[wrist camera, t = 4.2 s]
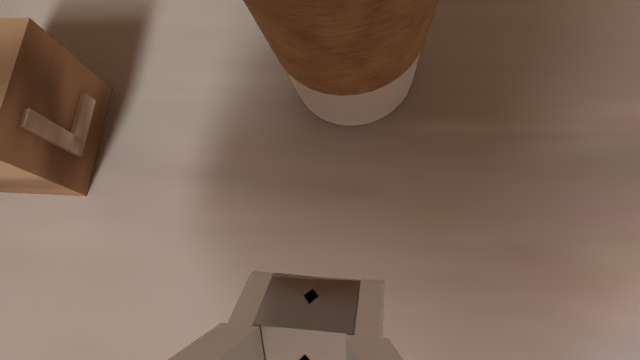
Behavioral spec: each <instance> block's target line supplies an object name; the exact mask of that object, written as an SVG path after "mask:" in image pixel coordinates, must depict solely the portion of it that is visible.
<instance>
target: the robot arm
mask: <svg viewBox="0 0 640 360" xmlns="http://www.w3.org/2000/svg"><path fill="white" fill-rule="evenodd" d="M383 316H384V281H380V280H355V279H340V278H325V277H313V276H302V275H292V274H282V273H268V272H257V271H254V272H253V273H252V274H251V275H250V276H249V278H248V280H247V282H246V285H245V287H244V289H243V291H242V293H241V295H240V298H239V300H238V302H237V304H236V306H235V308H234V310H233V313H232V315H231V317H230V319H229V321H228V323H220V324H219V325H217V326H216V327H214V328H213V329H212V330H210V331H209V332H207V333H206V334H204V335H203V336H201V337H200V338H199V339H197V340H196V341H194V342H193V343H191V344H190V345H188V346H187V347H186V348H184V349H183V350H181V351H180V352H178V353H177V354H175V355H174V356H173V357H171V358H170V359H168V360H403V358H402V357H401V356H400V354H399V353H398V351H397V350H396V349H395V347H394V346H393V344H392V343H391V342H390V340H389V339H385V338H383Z"/></svg>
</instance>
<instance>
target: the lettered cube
mask: <svg viewBox="0 0 640 360" xmlns="http://www.w3.org/2000/svg"><path fill="white" fill-rule="evenodd" d="M111 93H112V88H111V87H110V86H109V85H107V84H106V83H105V82H104V81H103V80H102V79H100V78H99V77H98V76H97V75H96V74H95V73H93V72H92V71H91V70H90V69H89V68H88V67H86V66H85V65H84V64H83V63H82V62H81V61H79V60H78V59H77V58H76V57H75V56H74V55H72V54H71V53H70V52H69V51H68V50H66V49H65V48H64V47H63V46H62V45H61V44H59V43H58V42H57V41H56V40H55V39H54V38H52V37H51V36H50V35H49V34H48V33H47V32H45V31H44V30H43V29H42V28H41V27H40V26H38V25H37V24H36V23H35V22H34V21H32V20H31V19H30V18H0V192H8V193H30V194H52V195H75V196H87V192H88V188H89V184H90V180H91V176H92V171H93V167H94V163H95V159H96V155H97V151H98V147H99V142H100V138H101V134H102V130H103V126H104V122H105V118H106V114H107V109H108V105H109V101H110V97H111Z"/></svg>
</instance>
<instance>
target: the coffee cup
mask: <svg viewBox="0 0 640 360" xmlns="http://www.w3.org/2000/svg"><path fill="white" fill-rule="evenodd" d="M243 1H244V2H245V4H246V6H247V7H248V9H249V11H250V12H251V14H252V16H253V17H254V19H255V21H256V23H257V24H258V26H259V28H260V29H261V31H262V33H263V34H264V36H265V38H266V39H267V41H268V43H269V45H270V46H271V48H272V50H273V51H274V53H275V55H276V56H277V58H278V60H279V61H280V63H281V64H282V66H283V67H284V68H285V70H286V72H287V74H288V76H289V78H290V80H291V82H292V84H293V85H294V87H295V89H296V91H297V93H298V95H299V97H300V98H301V100H302V101H303V102H304V104H305V105H306V106H307V108H308V109H309V110H311V111H312V112H313V113H314V114H315V115H317V116H318V117H320V118H322V119H324V120H325V121H328V122H331V123H334V124H339V125H346V126H353V125H363V124H368V123H372V122H374V121H377V120H379V119H381V118H383V117H385V116H386V115H388V114H389V113H391V112H392V111H394V110H395V109H396V108H397V107H398V106H399V105H400V104H401V103H402V101H403V100H404V98H405V97H406V95H407V94H408V91H409V89H410V86H411V84H412V81H413V78H414V75H415V71H416V67H417V64H418V60H419V56H420V53H421V49H422V47H423V44H424V42H425V39H426V36H427V33H428V29H429V26H430V23H431V20H432V17H433V14H434V11H435V8H436V5H437V1H438V0H243Z"/></svg>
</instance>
